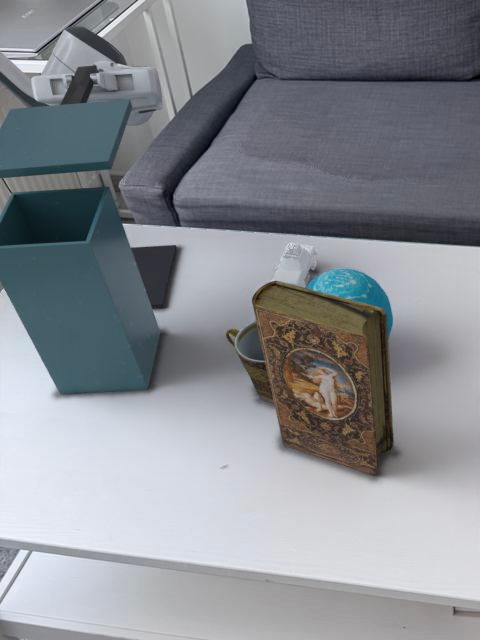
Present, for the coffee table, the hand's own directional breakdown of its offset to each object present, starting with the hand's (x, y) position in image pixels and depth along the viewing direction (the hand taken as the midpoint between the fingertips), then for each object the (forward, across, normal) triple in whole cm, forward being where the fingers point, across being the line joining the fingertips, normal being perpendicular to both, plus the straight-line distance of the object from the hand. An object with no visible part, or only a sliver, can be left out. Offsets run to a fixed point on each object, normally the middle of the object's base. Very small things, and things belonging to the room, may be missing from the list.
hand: (81, 80), depth 116 cm
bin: (+10, 0, +42) cm, 43 cm away
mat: (-9, 0, +30) cm, 32 cm away
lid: (+9, 0, +6) cm, 11 cm away
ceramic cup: (+17, +26, +46) cm, 56 cm away
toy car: (-6, +30, +32) cm, 44 cm away
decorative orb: (+12, +39, +43) cm, 59 cm away
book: (+29, +37, +53) cm, 71 cm away
